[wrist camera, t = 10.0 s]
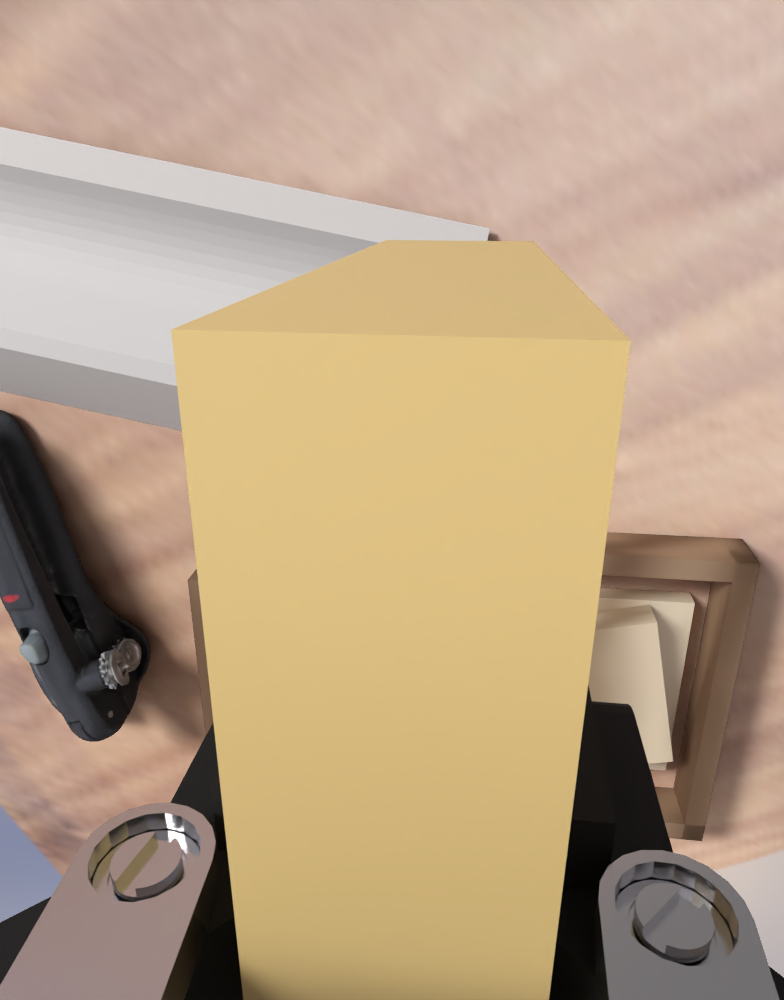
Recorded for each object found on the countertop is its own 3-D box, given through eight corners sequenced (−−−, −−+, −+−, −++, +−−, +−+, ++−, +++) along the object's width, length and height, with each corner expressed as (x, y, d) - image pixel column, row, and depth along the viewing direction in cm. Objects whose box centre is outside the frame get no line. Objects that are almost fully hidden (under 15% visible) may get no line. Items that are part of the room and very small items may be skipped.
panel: (533, 241, 12) (631, 340, 4) (492, 811, 17) (495, 1427, 8) (386, 240, 12) (172, 328, 4) (385, 800, 17) (284, 1387, 9)
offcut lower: (685, 584, 37) (695, 603, 35) (658, 747, 40) (665, 770, 39) (521, 575, 38) (523, 593, 36) (510, 735, 41) (510, 757, 40)
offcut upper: (650, 604, 35) (657, 622, 34) (666, 739, 38) (673, 761, 37) (523, 621, 36) (525, 639, 35) (547, 750, 39) (550, 772, 38)
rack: (742, 539, 35) (800, 616, 28) (689, 804, 41) (727, 918, 34) (239, 514, 37) (187, 580, 31) (260, 766, 43) (220, 866, 37)
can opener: (184, 687, 42) (141, 756, 37) (76, 703, 43) (20, 771, 38) (61, 386, 36) (-11, 418, 31) (-60, 416, 37) (-147, 451, 32)
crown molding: (489, 231, 32) (489, 235, 28) (431, 486, 36) (425, 516, 33) (-209, 87, 33) (-288, 75, 29) (-176, 353, 37) (-241, 369, 34)
